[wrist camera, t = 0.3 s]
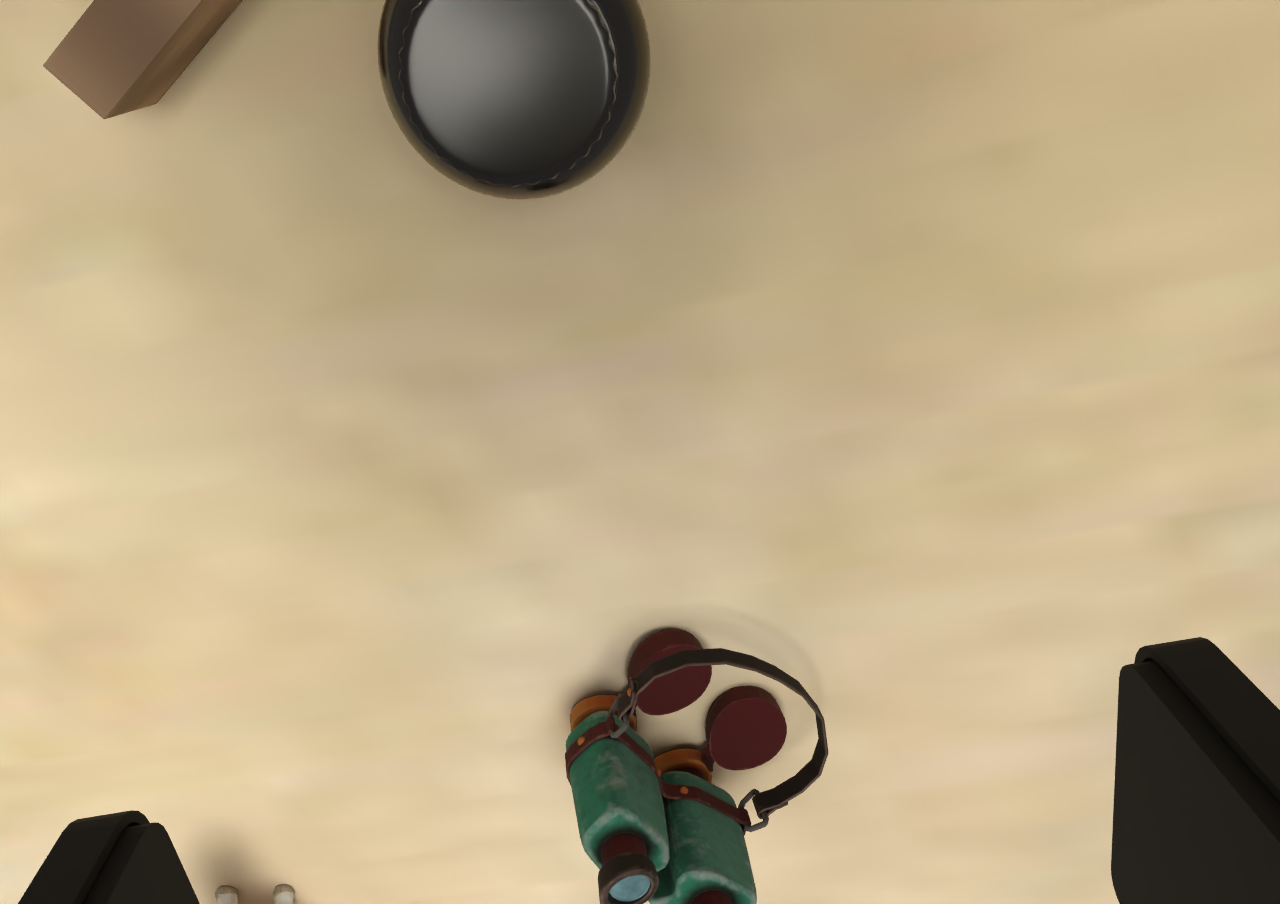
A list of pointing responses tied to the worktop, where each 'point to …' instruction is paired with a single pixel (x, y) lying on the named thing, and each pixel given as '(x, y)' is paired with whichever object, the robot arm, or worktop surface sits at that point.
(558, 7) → the supplement bottle
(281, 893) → the bull figurine
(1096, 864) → the worktop surface
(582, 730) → the binoculars
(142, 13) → the walnut rail
